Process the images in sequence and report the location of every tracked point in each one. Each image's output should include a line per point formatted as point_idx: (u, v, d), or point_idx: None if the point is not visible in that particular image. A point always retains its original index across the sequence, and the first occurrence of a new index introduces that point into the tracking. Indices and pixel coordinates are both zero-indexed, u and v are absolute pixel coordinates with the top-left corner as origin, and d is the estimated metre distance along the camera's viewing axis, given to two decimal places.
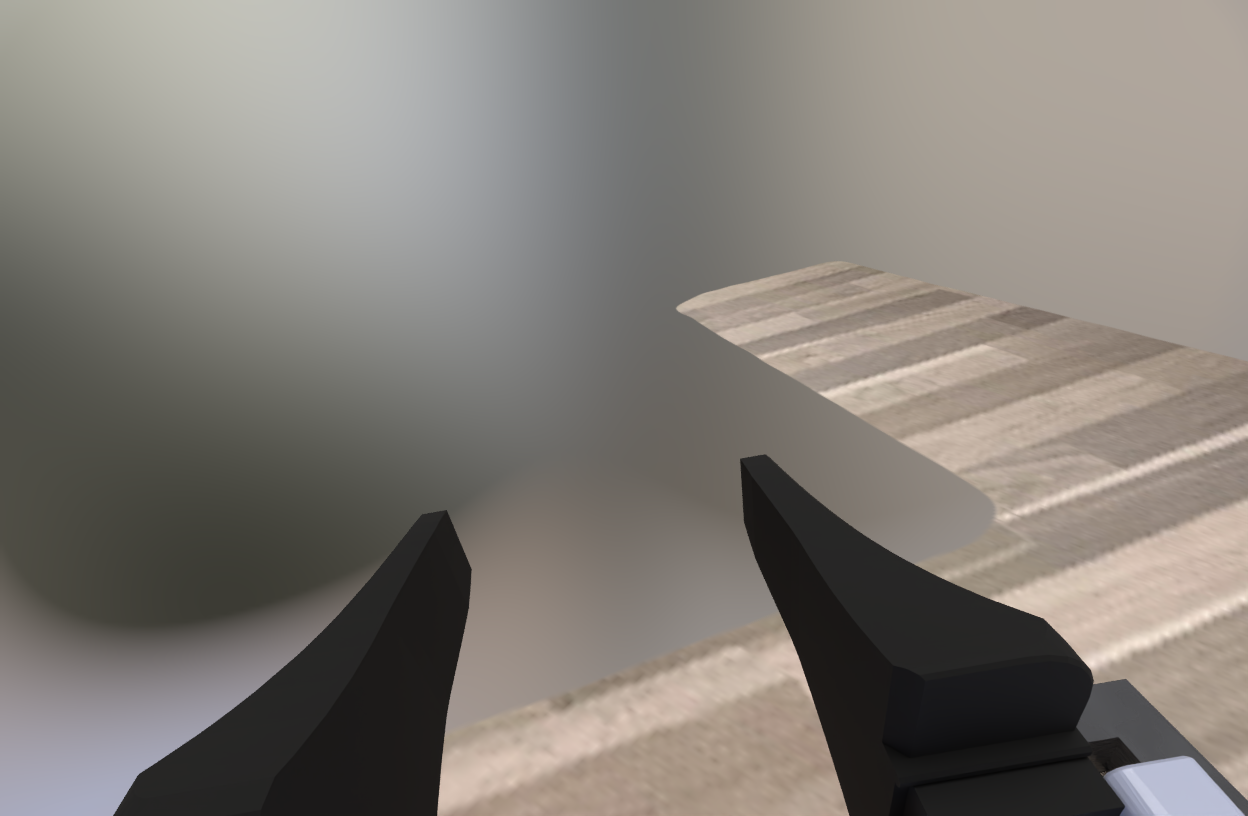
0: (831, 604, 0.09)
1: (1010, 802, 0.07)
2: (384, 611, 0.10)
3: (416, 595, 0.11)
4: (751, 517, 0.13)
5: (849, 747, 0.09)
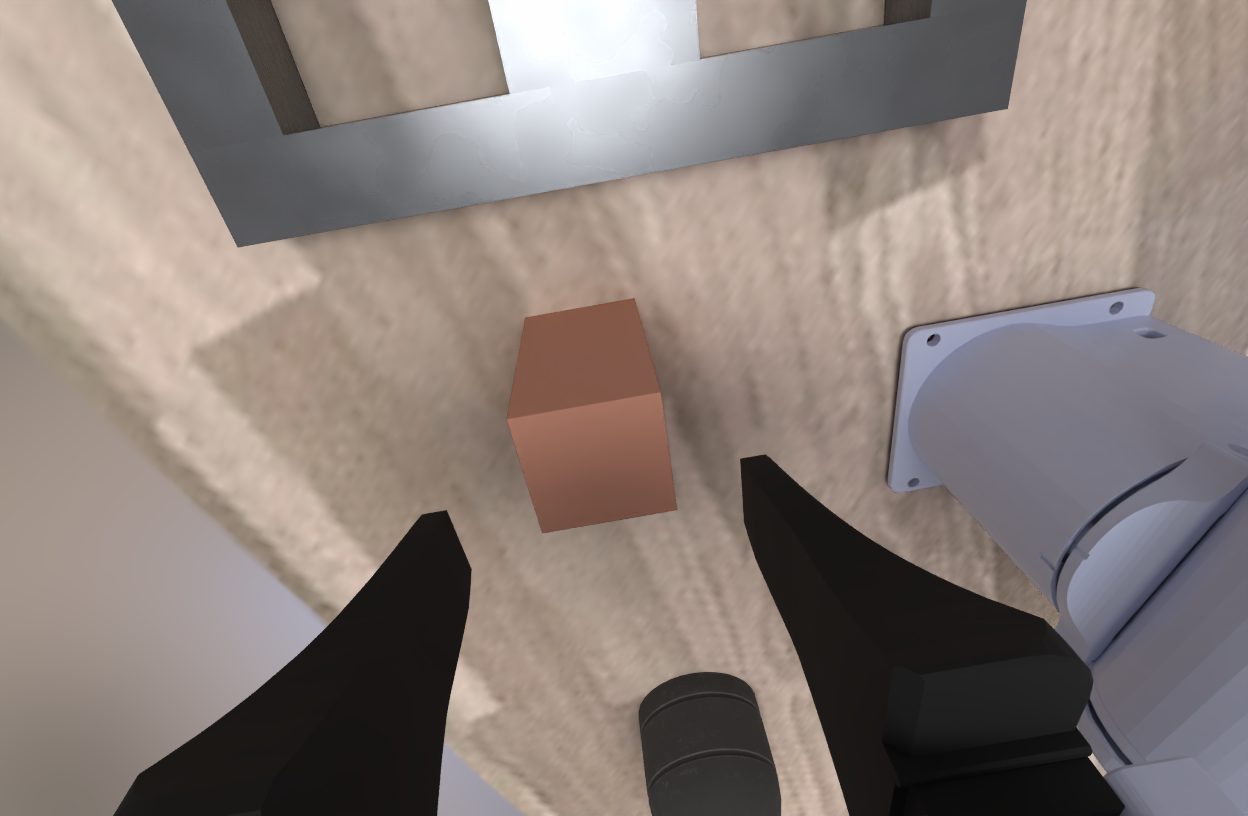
0: (831, 604, 0.09)
1: (1009, 803, 0.07)
2: (384, 611, 0.10)
3: (416, 595, 0.11)
4: (751, 517, 0.13)
5: (849, 748, 0.09)
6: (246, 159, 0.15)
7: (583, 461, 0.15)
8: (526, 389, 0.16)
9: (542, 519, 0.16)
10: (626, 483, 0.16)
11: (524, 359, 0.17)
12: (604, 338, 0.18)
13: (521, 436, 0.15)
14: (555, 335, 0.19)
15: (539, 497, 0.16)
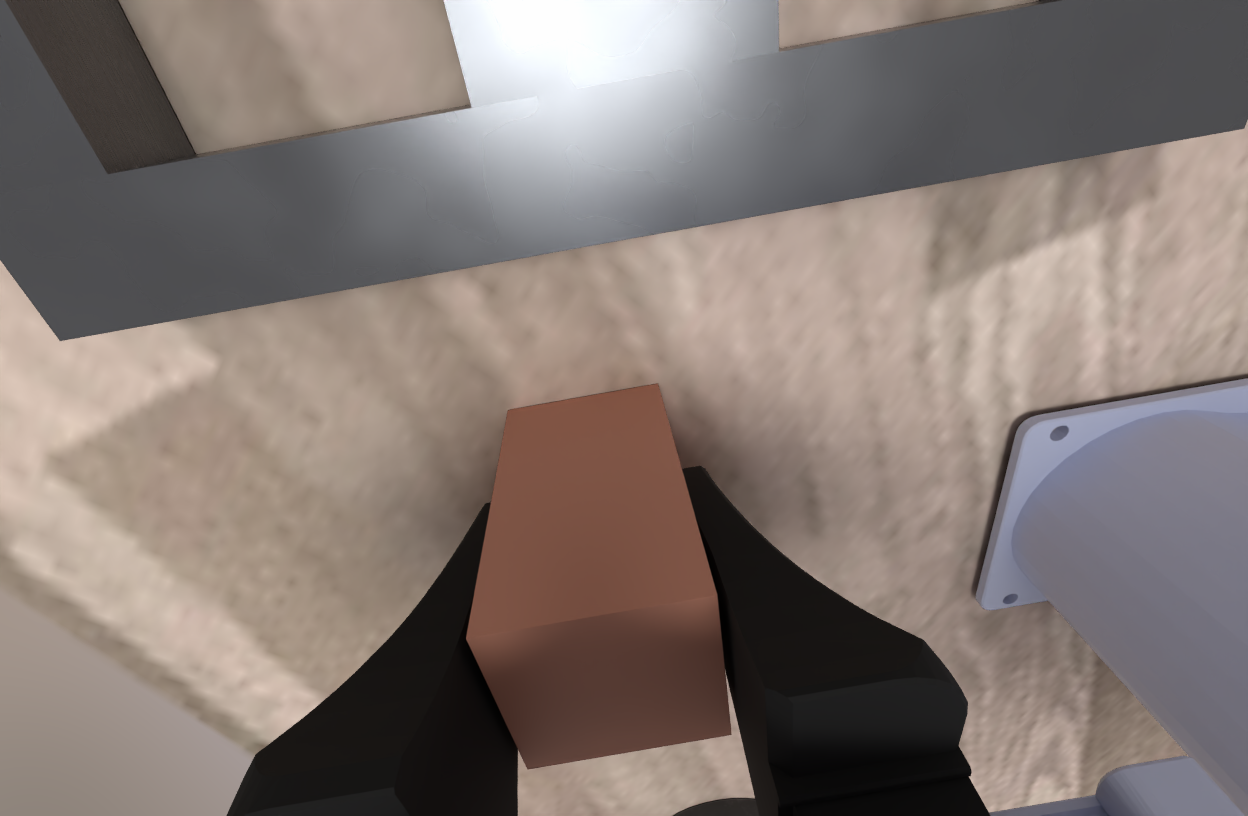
0: (733, 621, 0.09)
1: None
2: (468, 596, 0.10)
3: None
4: None
5: (755, 764, 0.09)
6: (51, 210, 0.09)
7: (589, 685, 0.10)
8: (501, 565, 0.10)
9: (527, 753, 0.11)
10: (656, 708, 0.10)
11: (502, 495, 0.12)
12: (619, 461, 0.12)
13: (490, 658, 0.09)
14: (549, 447, 0.13)
15: (522, 729, 0.10)
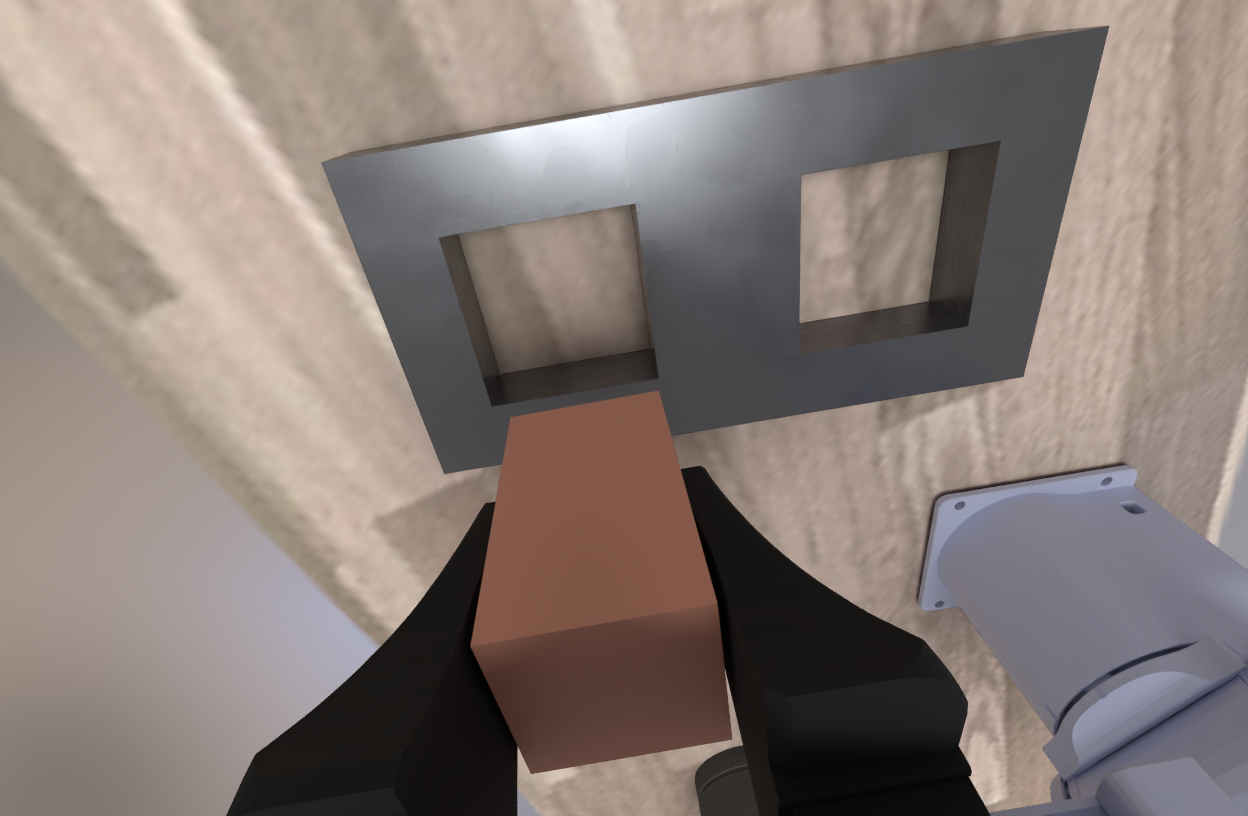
0: (733, 621, 0.09)
1: None
2: (468, 597, 0.10)
3: None
4: None
5: (755, 764, 0.09)
6: (462, 421, 0.20)
7: (592, 691, 0.10)
8: (505, 573, 0.10)
9: (530, 758, 0.11)
10: (658, 713, 0.10)
11: (505, 503, 0.12)
12: (621, 469, 0.12)
13: (495, 665, 0.09)
14: (551, 455, 0.13)
15: (525, 734, 0.10)
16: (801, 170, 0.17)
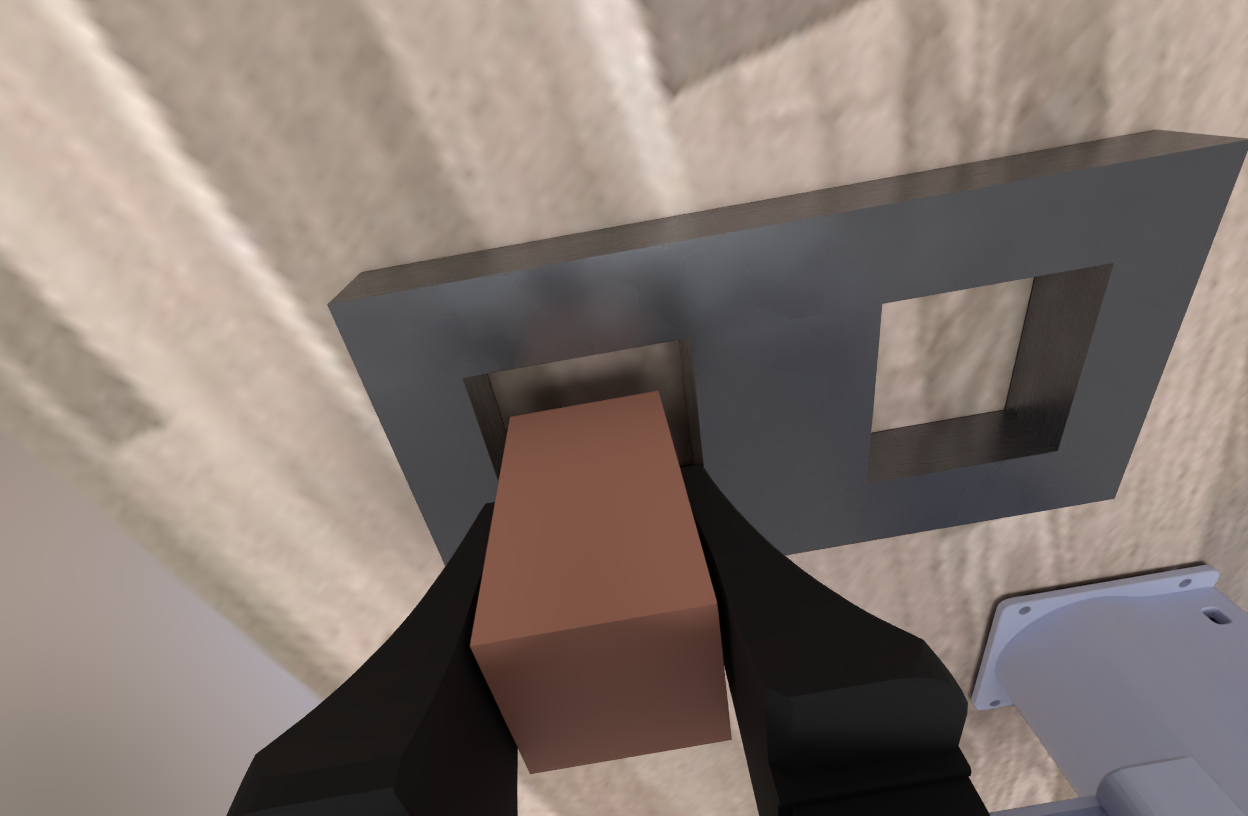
0: (733, 621, 0.09)
1: None
2: (468, 596, 0.10)
3: None
4: None
5: (755, 764, 0.09)
6: None
7: (591, 692, 0.10)
8: (504, 573, 0.10)
9: (530, 758, 0.11)
10: (657, 713, 0.10)
11: (504, 503, 0.12)
12: (620, 469, 0.12)
13: (494, 666, 0.09)
14: (551, 455, 0.13)
15: (524, 734, 0.10)
16: (883, 299, 0.14)
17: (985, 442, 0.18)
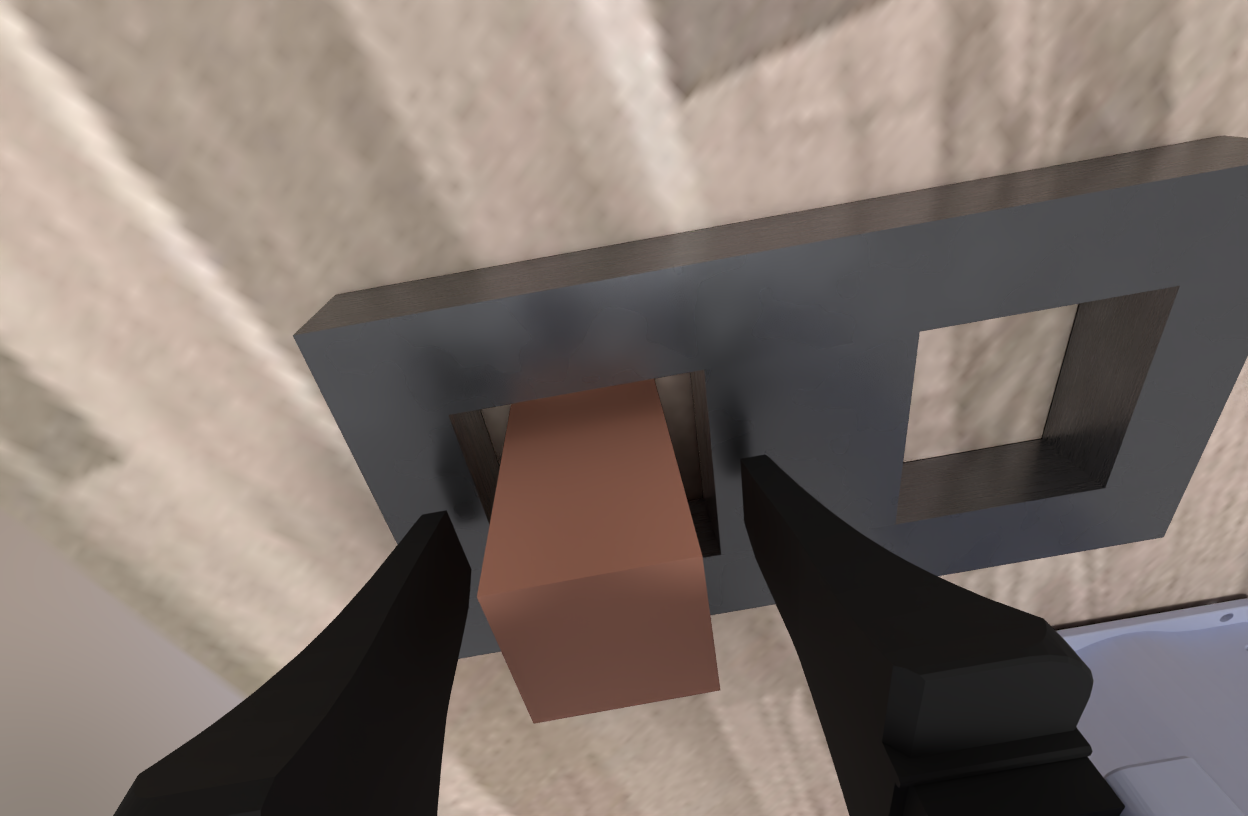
0: (831, 605, 0.09)
1: (1009, 802, 0.07)
2: (384, 611, 0.10)
3: (416, 595, 0.11)
4: (751, 517, 0.13)
5: (849, 748, 0.09)
6: (477, 606, 0.16)
7: (589, 642, 0.11)
8: (508, 534, 0.11)
9: (533, 708, 0.12)
10: (650, 664, 0.11)
11: (507, 474, 0.13)
12: (615, 442, 0.13)
13: (499, 615, 0.10)
14: (550, 431, 0.14)
15: (528, 684, 0.11)
16: (920, 326, 0.13)
17: (1023, 476, 0.17)
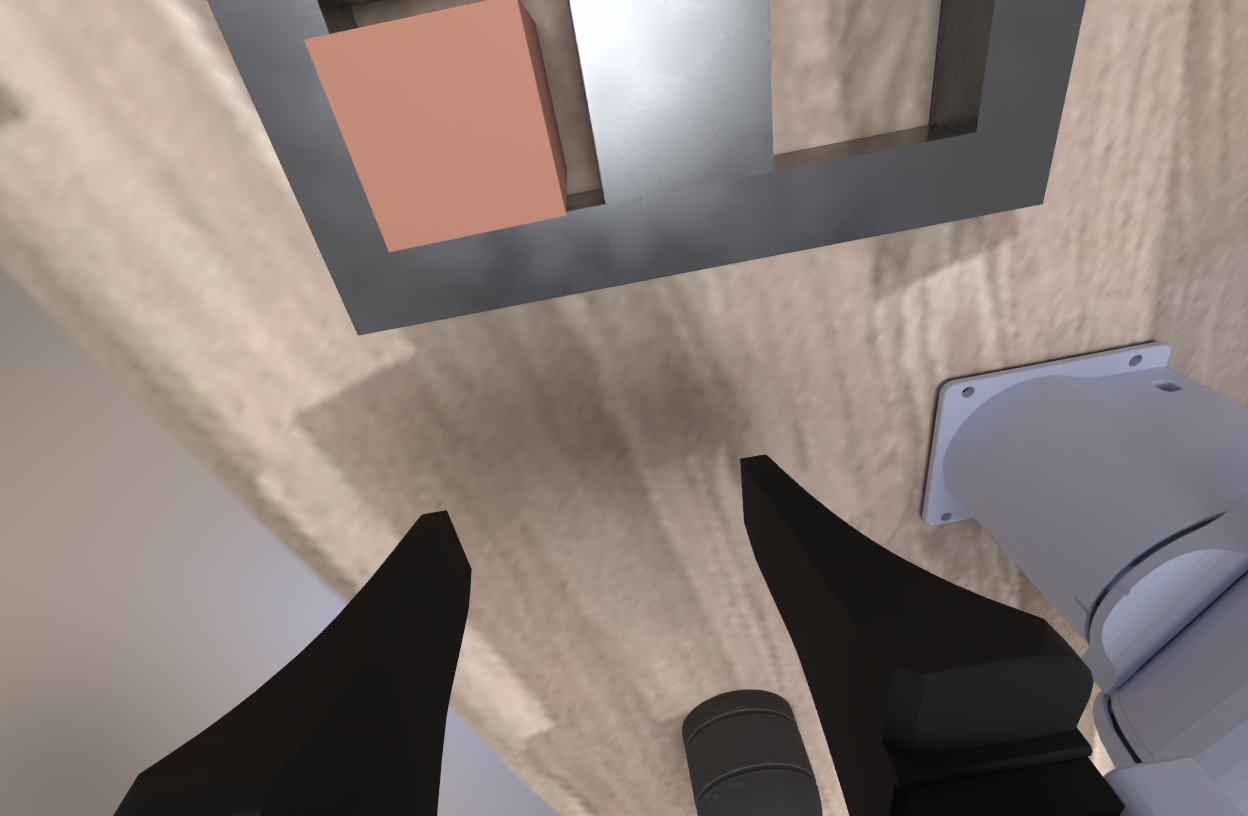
0: (832, 604, 0.09)
1: (1009, 802, 0.07)
2: (384, 611, 0.10)
3: (416, 595, 0.11)
4: (751, 517, 0.13)
5: (849, 748, 0.09)
6: (372, 262, 0.17)
7: (425, 124, 0.11)
8: None
9: (385, 228, 0.12)
10: (490, 165, 0.12)
11: None
12: None
13: (330, 72, 0.11)
14: None
15: (374, 188, 0.12)
16: None
17: (903, 139, 0.17)
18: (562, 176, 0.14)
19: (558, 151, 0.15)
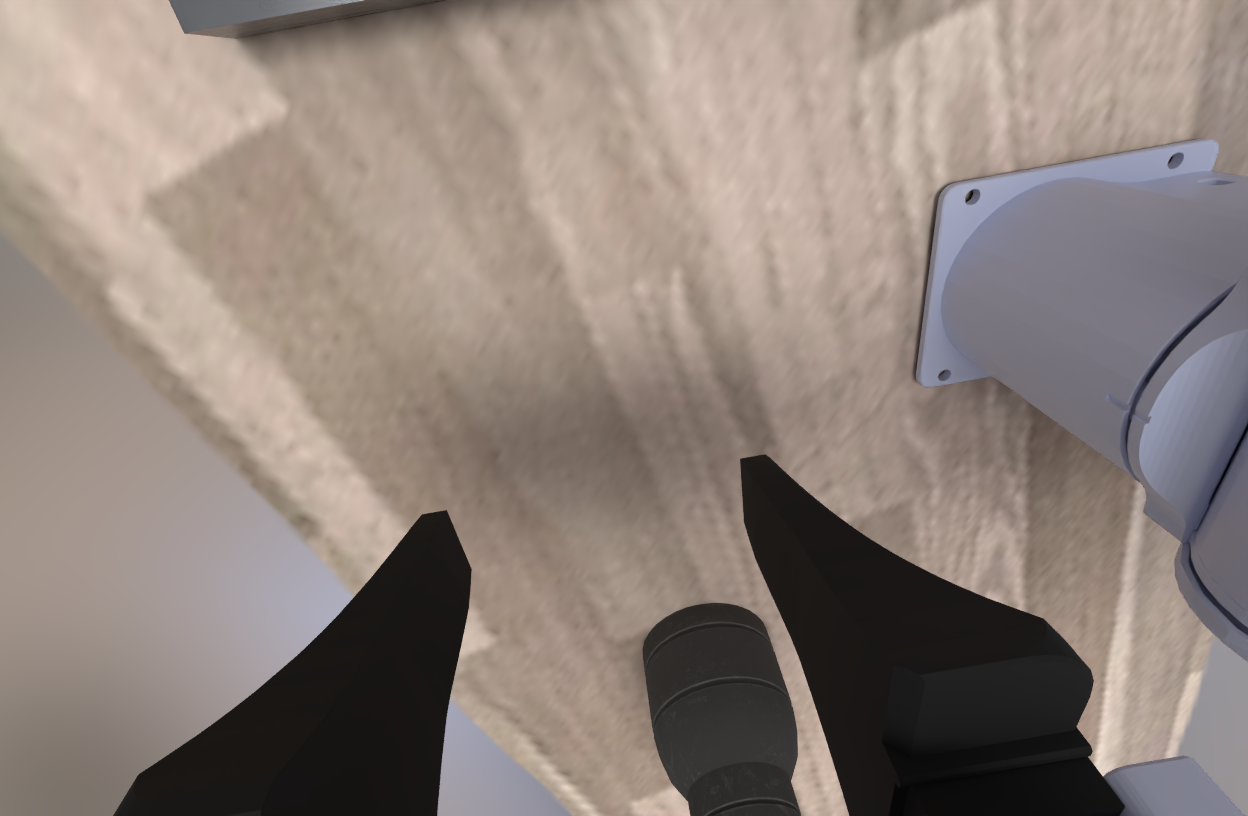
0: (831, 605, 0.09)
1: (1009, 803, 0.07)
2: (384, 611, 0.10)
3: (416, 595, 0.11)
4: (751, 517, 0.13)
5: (849, 748, 0.09)
6: None
7: None
8: None
9: None
10: None
11: None
12: None
13: None
14: None
15: None
16: None
17: None
18: None
19: None
